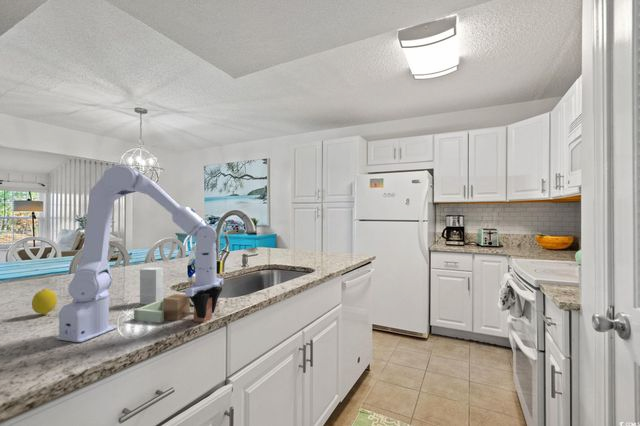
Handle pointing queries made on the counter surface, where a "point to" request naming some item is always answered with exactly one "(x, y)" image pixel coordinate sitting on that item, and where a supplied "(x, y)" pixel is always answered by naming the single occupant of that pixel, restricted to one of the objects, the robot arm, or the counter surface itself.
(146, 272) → the skincare box
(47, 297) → the lemon
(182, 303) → the tethered block
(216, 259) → the robot arm
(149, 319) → the green l-shaped block
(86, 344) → the counter surface
